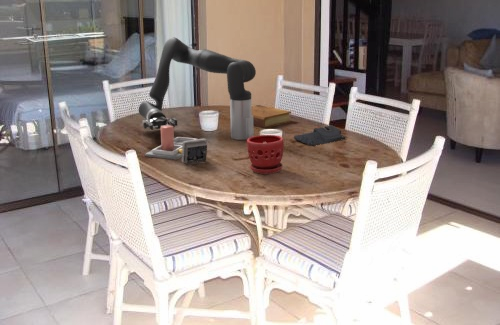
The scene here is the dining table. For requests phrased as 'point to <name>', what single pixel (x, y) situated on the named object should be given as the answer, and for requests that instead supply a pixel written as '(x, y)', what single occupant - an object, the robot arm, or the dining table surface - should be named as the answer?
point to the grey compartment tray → (170, 154)
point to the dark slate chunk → (320, 136)
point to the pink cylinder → (167, 138)
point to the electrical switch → (194, 151)
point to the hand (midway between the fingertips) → (162, 126)
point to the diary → (269, 116)
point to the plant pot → (265, 153)
